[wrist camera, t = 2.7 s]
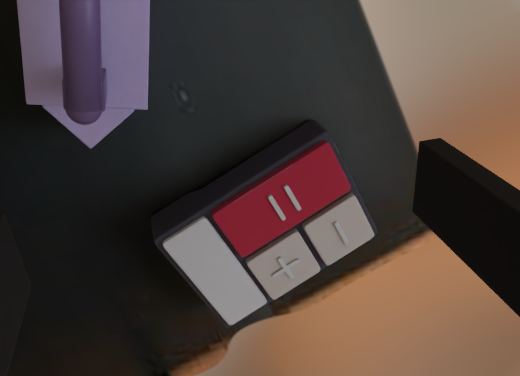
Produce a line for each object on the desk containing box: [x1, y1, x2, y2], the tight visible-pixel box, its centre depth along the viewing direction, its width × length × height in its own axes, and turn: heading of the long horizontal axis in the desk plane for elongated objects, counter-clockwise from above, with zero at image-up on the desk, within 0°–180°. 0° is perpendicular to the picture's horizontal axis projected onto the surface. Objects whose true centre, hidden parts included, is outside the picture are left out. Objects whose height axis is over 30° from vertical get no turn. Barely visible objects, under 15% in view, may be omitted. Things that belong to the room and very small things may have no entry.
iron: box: [17, 0, 150, 148], centre depth 26 cm, size 14×6×10 cm, turn 173°
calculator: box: [151, 120, 377, 328], centre depth 39 cm, size 11×4×15 cm
